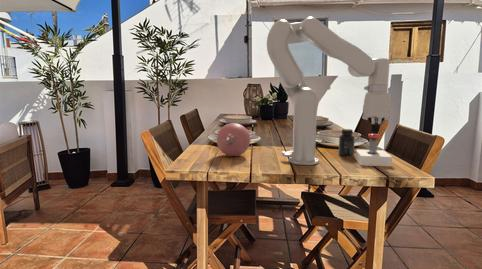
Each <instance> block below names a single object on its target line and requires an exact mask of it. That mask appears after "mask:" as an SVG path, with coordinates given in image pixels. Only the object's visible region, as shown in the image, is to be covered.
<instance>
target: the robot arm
mask: <svg viewBox="0 0 482 269" xmlns="http://www.w3.org/2000/svg"><path fill="white" fill-rule="evenodd" d="M305 42H306V43H307V42H308V43H310V44H312V45H313V46H314V47H316V48H317V49H318V50H319V51H320V52H322V53H323V54H324V55H326V56H328V57H329V58H333V59H336V60H338V61H341V62H342V63H343V64H346V65H347V71H348V74H350V75H351V76H352V77H355V78H362V77H363V78H365V77H367V78H368V81H367V85H366V86H364V87H363V90H364V91H367V92H365V94H364V99H363V100H364V101H363V106H362V117H361V118H362V119H363V120H366V121H369V123H370V132H371V134H379V132H380V126H381V124H382V123H383V122H384V121H387V120H390V118H391V117H390V116H391V111H392V110H391V108H392V106H391V93H390V92H389V91H388V90H389V89H388V87H389V76H390V75H389V72H390V60H389V59H388V58H385V57H383V58H382V57H379V58H372V57H371V56H370V55H369V54H367V53H366V52H365V51H363V49H361V48H359V47H358V46H356V45H355V44H352V43H351V42H349V41H347V40H346V39H344V38H342V37H341V36H340V35H338V34H337V33H335V32H334V31H333V30H331V28H329V27H327V25H326V24H324V23H322V22H321V21H320V20H319V19H317V18H315V17H313V16H308V17H306V18H305V19H303V20H302V21H300V22H291V23H290V22H289V21H288V20H286V19H278V20H277V21H275V22H274V23H273V25H272V26H271V28H270V29H269V31H268V34H267V38H266V50H267V55H268V56H269V59H270V61H271V64H272V65H273V67H274V68H275V71H276V73H277V74H278V78H279V79H278V80H279V82H280V84H281V86H282V88H283V89H284V91H285V93H286V94H287V96H288V98H289V100H290V101H291V103H292V105H293V119H292V120H293V121H292V122H293V123H292V124H293V125H292V127H293V128H292V149H291V150H289V151H281V156H282V157H285V158H288V157H289V158H288V162H289V163H290V164H294V165H299V166H313V165H317V164H318V163H319V162H320V160H319V158H317V157H316V145H317V144H316V142H317V119H318V118H317V116H318V108H319V97H318V94H317V92H316V91H315V90H314V89H312V88H311V87H309V86H308V84H307V82H306V81H305V79H304V72H303V70H302V68H301V67H300V66H299V64H298V62H297V61H296V59H295V58H294V56H293V53H292V52H291V50H290V48H289V45H292V44H300V43H305ZM375 118H376V121H375Z"/></svg>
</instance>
